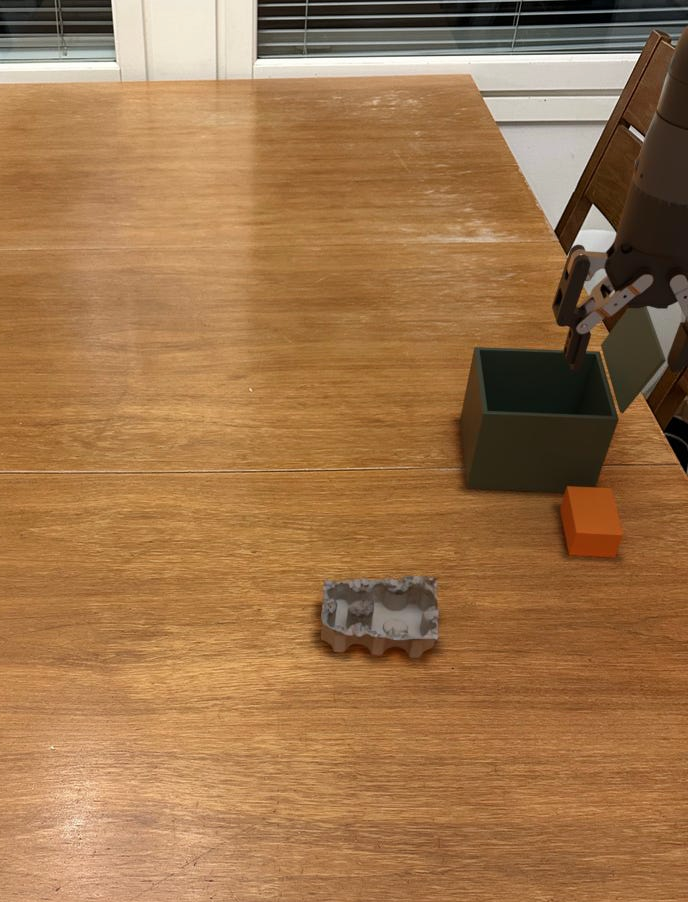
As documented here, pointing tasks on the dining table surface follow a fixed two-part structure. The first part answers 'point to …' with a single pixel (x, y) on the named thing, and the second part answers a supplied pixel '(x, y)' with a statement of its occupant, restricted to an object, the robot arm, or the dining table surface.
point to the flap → (632, 355)
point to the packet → (591, 521)
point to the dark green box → (535, 420)
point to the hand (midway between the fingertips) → (623, 366)
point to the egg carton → (381, 614)
